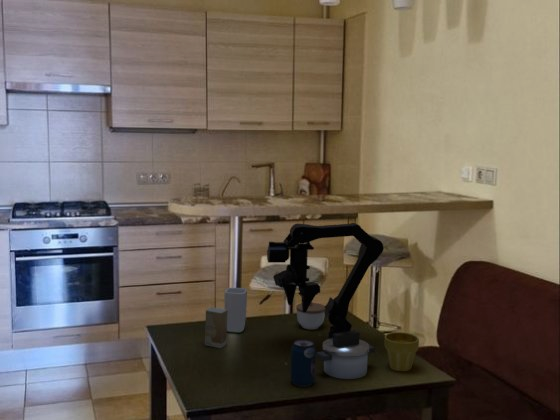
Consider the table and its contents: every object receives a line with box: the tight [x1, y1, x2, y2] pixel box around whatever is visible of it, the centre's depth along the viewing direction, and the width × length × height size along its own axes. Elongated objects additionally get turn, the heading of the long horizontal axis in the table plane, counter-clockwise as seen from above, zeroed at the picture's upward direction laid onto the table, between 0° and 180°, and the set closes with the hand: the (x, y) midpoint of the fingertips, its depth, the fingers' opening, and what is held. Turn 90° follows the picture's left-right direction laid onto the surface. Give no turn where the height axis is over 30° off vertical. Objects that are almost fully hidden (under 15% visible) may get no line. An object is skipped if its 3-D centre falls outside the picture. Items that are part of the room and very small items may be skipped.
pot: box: [315, 344, 376, 380], centre depth 196 cm, size 19×13×7 cm
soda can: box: [290, 338, 316, 387], centre depth 186 cm, size 7×7×12 cm
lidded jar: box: [296, 301, 326, 331], centre depth 238 cm, size 11×11×9 cm
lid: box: [322, 329, 370, 357], centre depth 196 cm, size 14×14×5 cm
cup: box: [224, 287, 248, 334], centre depth 231 cm, size 7×7×15 cm
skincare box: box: [204, 307, 228, 349], centre depth 216 cm, size 6×4×12 cm
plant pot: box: [383, 331, 420, 372], centre depth 200 cm, size 10×10×10 cm
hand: (297, 308), depth 216 cm, fingers open, 9 cm apart
